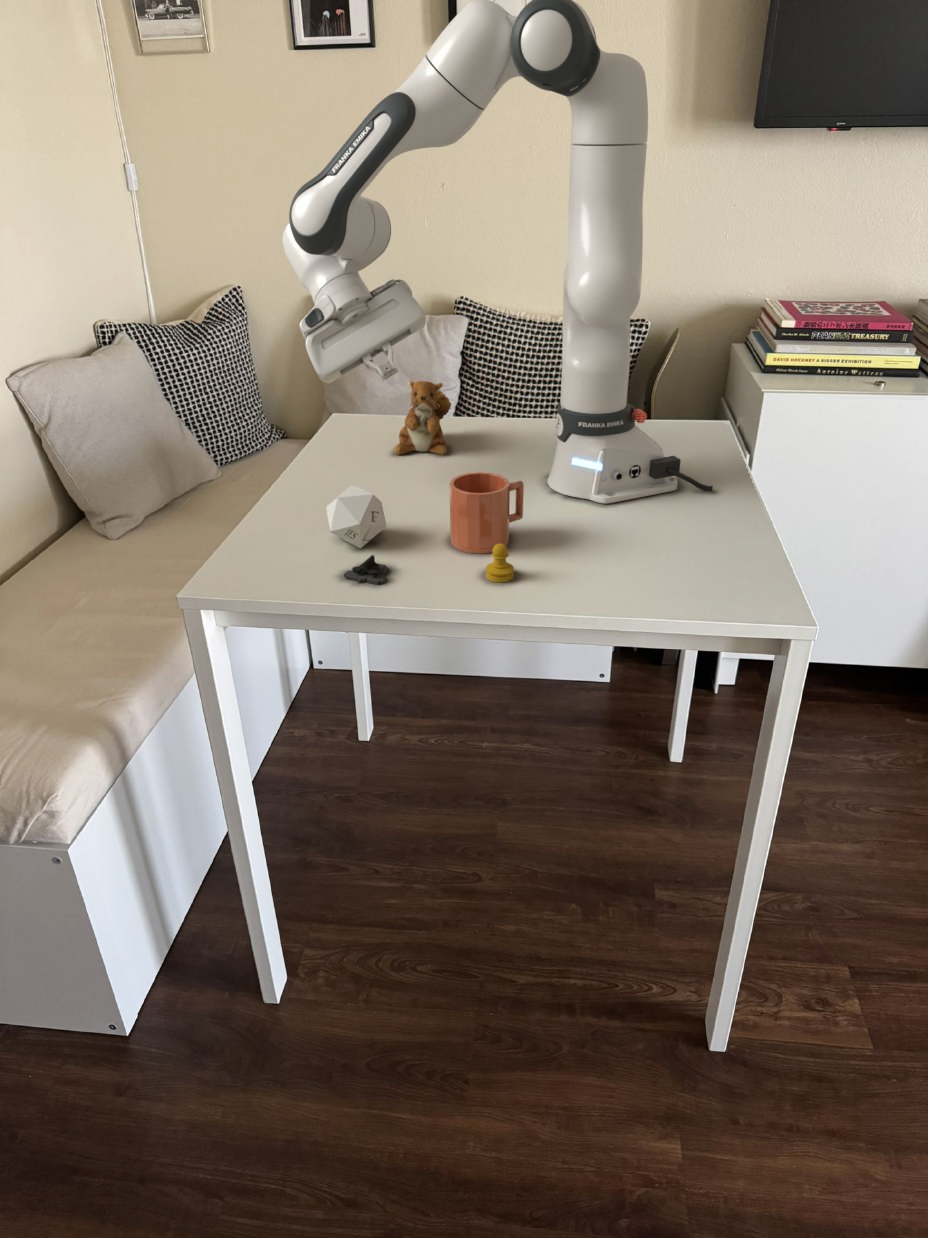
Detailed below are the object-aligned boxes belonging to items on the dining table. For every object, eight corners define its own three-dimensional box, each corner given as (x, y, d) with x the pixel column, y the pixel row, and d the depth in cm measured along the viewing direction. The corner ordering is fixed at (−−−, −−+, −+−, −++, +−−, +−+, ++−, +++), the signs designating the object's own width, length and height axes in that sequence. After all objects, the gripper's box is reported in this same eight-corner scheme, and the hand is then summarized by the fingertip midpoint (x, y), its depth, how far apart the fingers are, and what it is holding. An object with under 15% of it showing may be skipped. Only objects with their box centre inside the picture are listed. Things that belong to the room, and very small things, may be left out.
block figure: (395, 554, 128) (378, 571, 124) (396, 569, 130) (379, 586, 125) (358, 548, 130) (340, 564, 126) (359, 562, 132) (341, 579, 127)
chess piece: (494, 567, 130) (494, 536, 127) (518, 573, 128) (519, 541, 126) (480, 578, 127) (480, 546, 124) (505, 584, 125) (505, 552, 123)
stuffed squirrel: (392, 456, 170) (389, 387, 164) (407, 432, 182) (404, 367, 176) (444, 458, 169) (443, 389, 162) (455, 434, 181) (454, 369, 174)
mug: (471, 558, 132) (471, 498, 128) (440, 537, 139) (438, 479, 134) (538, 538, 138) (540, 480, 133) (505, 519, 145) (506, 463, 140)
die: (329, 559, 134) (362, 514, 129) (306, 514, 138) (338, 469, 132) (372, 561, 140) (406, 518, 135) (350, 517, 144) (382, 474, 138)
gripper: (402, 282, 151) (445, 350, 150) (298, 345, 150) (340, 413, 149) (399, 264, 145) (443, 334, 143) (290, 329, 144) (334, 400, 143)
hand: (390, 375), depth 146 cm, fingers closed
